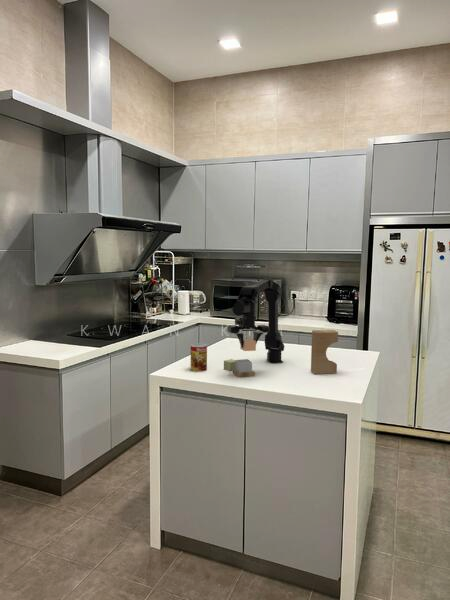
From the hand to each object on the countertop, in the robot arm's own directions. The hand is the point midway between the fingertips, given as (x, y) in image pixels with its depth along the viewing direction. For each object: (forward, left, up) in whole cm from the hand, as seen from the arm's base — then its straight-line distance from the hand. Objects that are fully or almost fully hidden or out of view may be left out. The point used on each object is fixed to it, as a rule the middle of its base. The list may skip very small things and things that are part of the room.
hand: (247, 347), depth 204 cm
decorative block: (-36, +6, -13) cm, 39 cm away
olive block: (+5, -10, -13) cm, 17 cm away
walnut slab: (+2, 0, -13) cm, 13 cm away
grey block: (+2, 0, -11) cm, 11 cm away
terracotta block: (0, 0, -1) cm, 1 cm away
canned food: (+20, -14, -13) cm, 27 cm away
